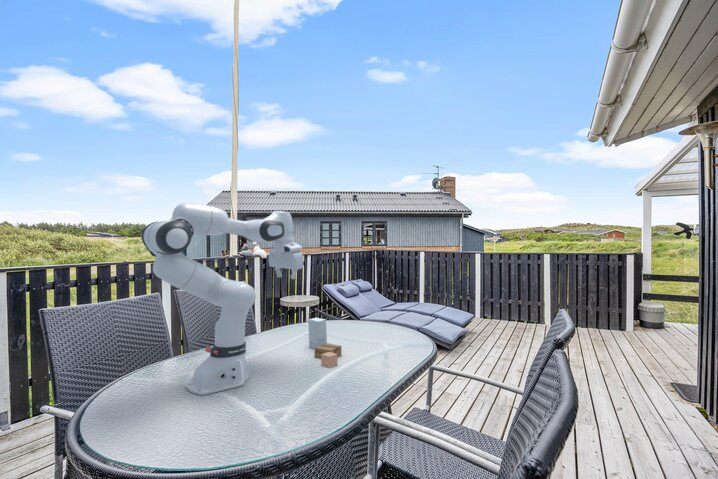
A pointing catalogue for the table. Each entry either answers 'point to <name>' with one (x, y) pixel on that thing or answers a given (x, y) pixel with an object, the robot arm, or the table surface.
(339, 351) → the walnut block
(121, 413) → the table surface
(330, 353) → the terracotta cube
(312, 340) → the skincare box
